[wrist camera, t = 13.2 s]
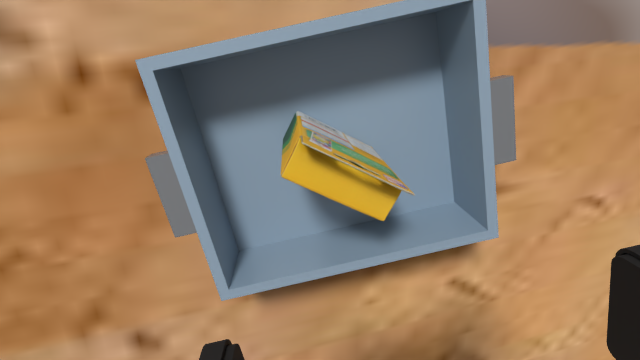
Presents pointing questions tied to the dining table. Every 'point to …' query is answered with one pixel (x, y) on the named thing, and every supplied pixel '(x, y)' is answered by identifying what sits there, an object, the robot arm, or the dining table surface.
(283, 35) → the tote
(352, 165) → the crayon box
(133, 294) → the dining table surface
